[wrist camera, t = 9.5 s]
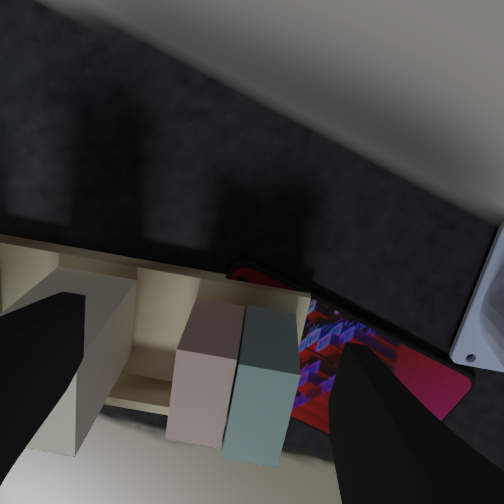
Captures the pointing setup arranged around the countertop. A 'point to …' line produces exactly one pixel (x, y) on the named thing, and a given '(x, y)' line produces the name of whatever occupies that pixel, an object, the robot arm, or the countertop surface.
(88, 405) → the book
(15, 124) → the countertop surface
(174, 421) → the shelved books
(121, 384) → the shelf board
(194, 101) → the countertop surface
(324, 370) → the smartphone
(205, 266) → the countertop surface
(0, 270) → the bookend
